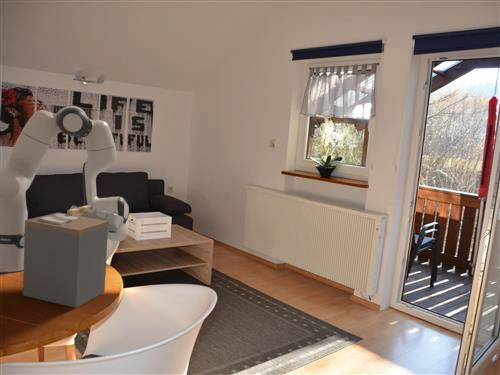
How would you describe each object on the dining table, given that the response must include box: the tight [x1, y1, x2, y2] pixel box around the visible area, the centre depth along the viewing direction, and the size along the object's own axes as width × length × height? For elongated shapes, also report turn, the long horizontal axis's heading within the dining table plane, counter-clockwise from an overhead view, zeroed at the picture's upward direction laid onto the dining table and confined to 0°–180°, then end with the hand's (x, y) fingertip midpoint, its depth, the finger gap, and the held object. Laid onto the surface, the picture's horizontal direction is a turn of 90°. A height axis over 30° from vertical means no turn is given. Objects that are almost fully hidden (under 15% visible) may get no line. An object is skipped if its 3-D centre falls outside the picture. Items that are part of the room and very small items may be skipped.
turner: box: [38, 205, 93, 225], centre depth 162 cm, size 22×9×2 cm, turn 164°
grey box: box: [22, 211, 109, 309], centre depth 159 cm, size 21×16×26 cm
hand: (84, 209), depth 169 cm, fingers open, 8 cm apart
